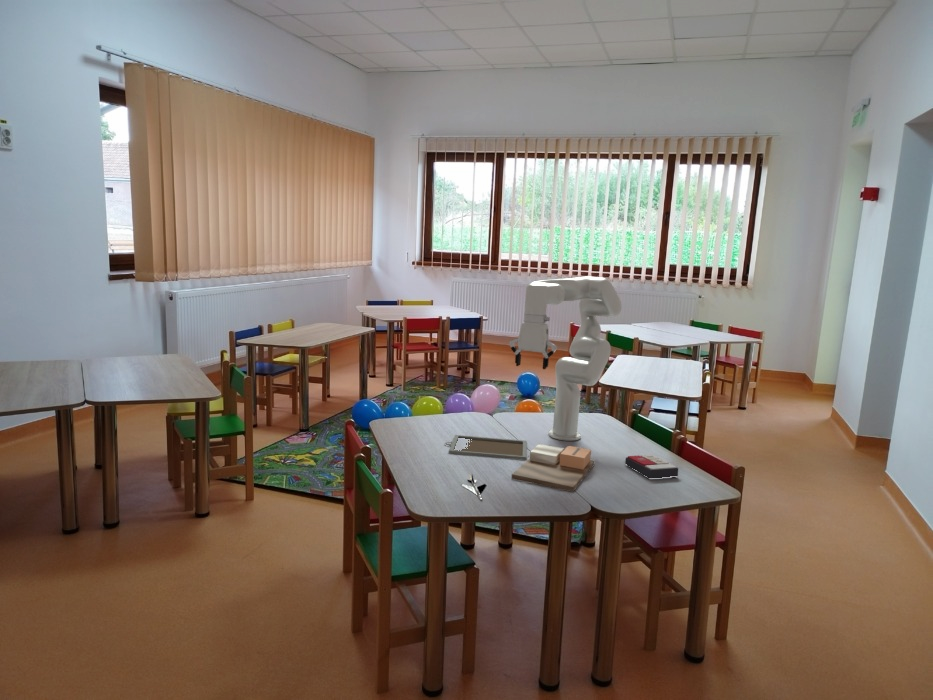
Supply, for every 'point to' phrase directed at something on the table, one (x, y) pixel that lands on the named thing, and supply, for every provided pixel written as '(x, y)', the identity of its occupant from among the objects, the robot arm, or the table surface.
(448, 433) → the table surface
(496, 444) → the framed hanging board
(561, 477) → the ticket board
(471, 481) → the toy airplane
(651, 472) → the red black flat box
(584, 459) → the tan box with slot
